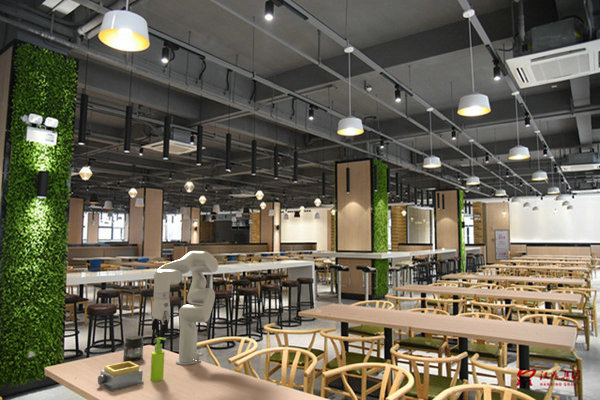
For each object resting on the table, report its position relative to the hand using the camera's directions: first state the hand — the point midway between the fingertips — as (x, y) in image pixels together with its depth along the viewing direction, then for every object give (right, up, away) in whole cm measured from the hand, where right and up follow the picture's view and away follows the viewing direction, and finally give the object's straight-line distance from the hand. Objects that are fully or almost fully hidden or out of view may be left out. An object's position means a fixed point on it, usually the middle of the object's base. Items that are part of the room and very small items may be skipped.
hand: (159, 331), depth 204 cm
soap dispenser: (0, -23, -2) cm, 24 cm away
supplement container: (-26, -27, +33) cm, 50 cm away
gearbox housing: (-16, -22, -8) cm, 28 cm away
